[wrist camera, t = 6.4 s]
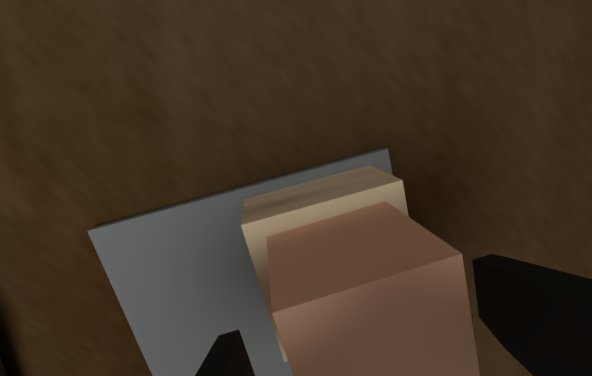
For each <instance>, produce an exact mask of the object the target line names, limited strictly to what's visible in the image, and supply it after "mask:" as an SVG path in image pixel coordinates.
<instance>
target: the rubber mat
mask: <svg viewBox="0 0 592 376" xmlns="http://www.w3.org/2000/svg"><path fill="white" fill-rule="evenodd" d="M367 165H371V166H373V167H375V168H378V169H380V170H382V171H384V172H386V173H388V174H391V175H393V174H392V169H391V163H390V158H389V152H388V149H387V148H381V149H377V150H374V151H370V152H366V153H363V154H359V155H355V156H352V157H348V158H344V159H341V160H337V161H333V162H330V163H326V164H322V165H319V166H315V167H311V168H308V169H304V170H300V171H297V172H293V173H289V174H286V175H282V176H278V177H275V178H271V179H267V180H264V181H260V182H256V183H253V184H249V185H245V186H242V187H238V188H234V189H231V190H227V191H223V192H220V193H216V194H212V195H209V196H205V197H201V198H198V199H194V200H190V201H187V202H183V203H179V204H176V205H172V206H168V207H165V208H161V209H157V210H154V211H150V212H146V213H143V214H139V215H135V216H132V217H128V218H124V219H121V220H117V221H113V222H110V223H106V224H102V225H99V226H95V227H92V228H91V229H89V230H88V231H87V232H88V234H89V236H90V238H91V240H92V243H93V245H94V247H95V249H96V252H97V254H98V256H99V258H100V260H101V263H102V265H103V267H104V269H105V271H106V274H107V276H108V278H109V280H110V283H111V285H112V287H113V289H114V291H115V294H116V296H117V298H118V300H119V302H120V305H121V307H122V309H123V311H124V314H125V316H126V318H127V320H128V322H129V325H130V327H131V329H132V331H133V333H134V336H135V338H136V340H137V342H138V345H139V347H140V349H141V351H142V353H143V356H144V358H145V360H146V362H147V364H148V367H149V369H150V371H151V373H152V376H195V375H196V373H197V371H198V370H199V368H200V366H201V364H202V363H203V361H204V359H205V357H206V356H207V354H208V352H209V351H210V349H211V347H212V345H213V344H214V342H215V340H216V339H217V337H218V335H222V334H225V333H228V332H232V331H235V330H238V329H239V331H240V334H241V336H242V339H243V342H244V345H245V348H246V351H247V354H248V356H249V359H250V362H251V365H252V368H253V371H254V374H255V376H293V374H292V371H291V368H290V365H289V362H288V361H286V362H284V360H283V357H282V353H281V350H280V347H279V344H278V341H277V338H276V335H275V331H274V328H273V325H272V322H271V319H270V316H269V312H268V309H267V306H266V303H265V300H264V297H263V293H262V290H261V287H260V284H259V281H258V278H257V275H256V271H255V268H254V265H253V262H252V259H251V256H250V252H249V249H248V246H247V243H246V240H245V237H244V233H243V230H242V227H241V221H242V214H243V207H244V200H245V199H247V198H251V197H254V196H258V195H262V194H265V193H269V192H272V191H276V190H280V189H283V188H287V187H291V186H294V185H298V184H301V183H305V182H309V181H312V180H316V179H320V178H323V177H327V176H331V175H334V174H338V173H341V172H345V171H349V170H352V169H356V168H360V167H363V166H367Z"/></svg>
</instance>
